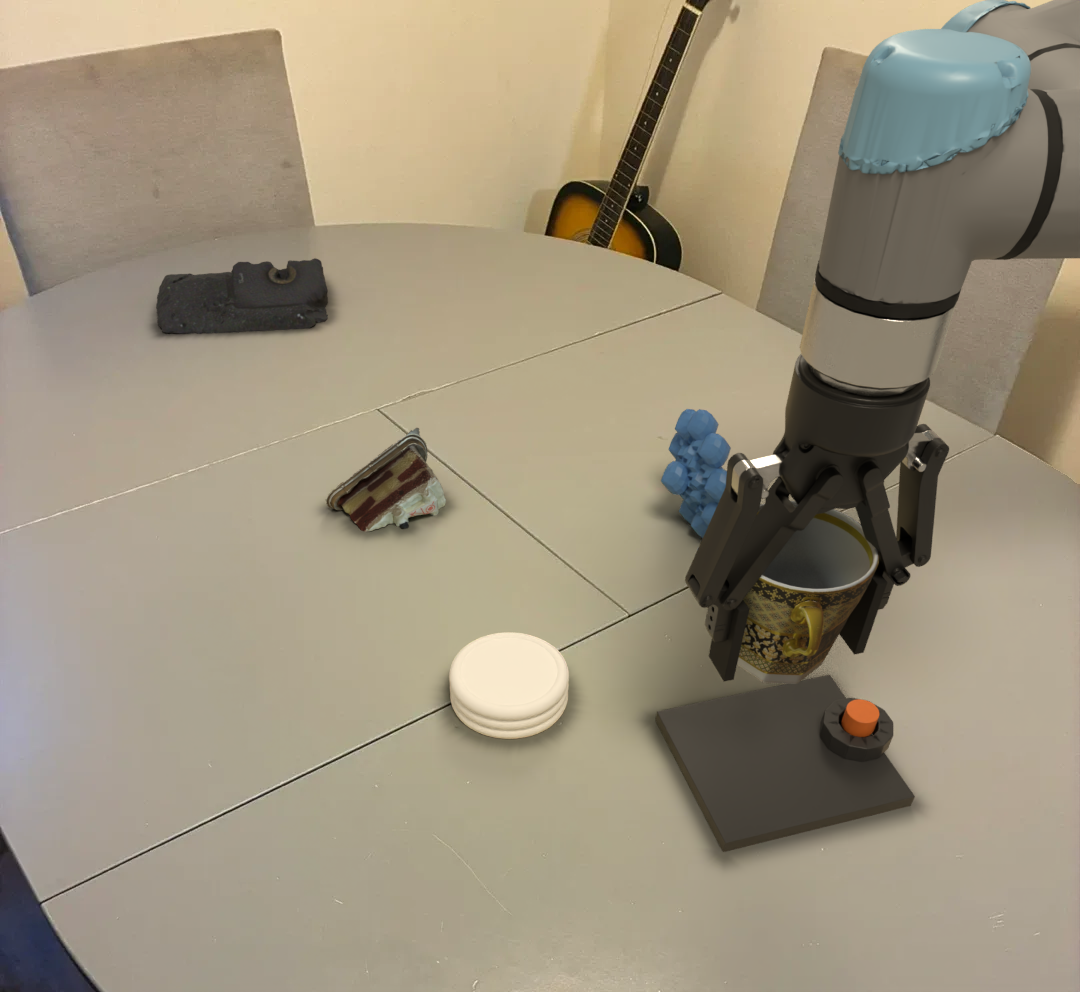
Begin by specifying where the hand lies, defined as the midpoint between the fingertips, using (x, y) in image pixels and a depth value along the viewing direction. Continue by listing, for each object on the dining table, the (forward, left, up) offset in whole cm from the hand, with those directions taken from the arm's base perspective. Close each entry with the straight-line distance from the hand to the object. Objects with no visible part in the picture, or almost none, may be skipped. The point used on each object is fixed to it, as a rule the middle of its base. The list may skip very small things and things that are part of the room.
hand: (786, 654), depth 74 cm
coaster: (+17, -13, -13) cm, 25 cm away
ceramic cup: (0, 0, -1) cm, 1 cm away
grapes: (-7, -32, -13) cm, 35 cm away
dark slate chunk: (+31, -92, -13) cm, 98 cm away
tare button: (-8, 0, -10) cm, 13 cm away
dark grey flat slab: (-2, 0, -12) cm, 13 cm away
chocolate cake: (+21, -42, -13) cm, 49 cm away
